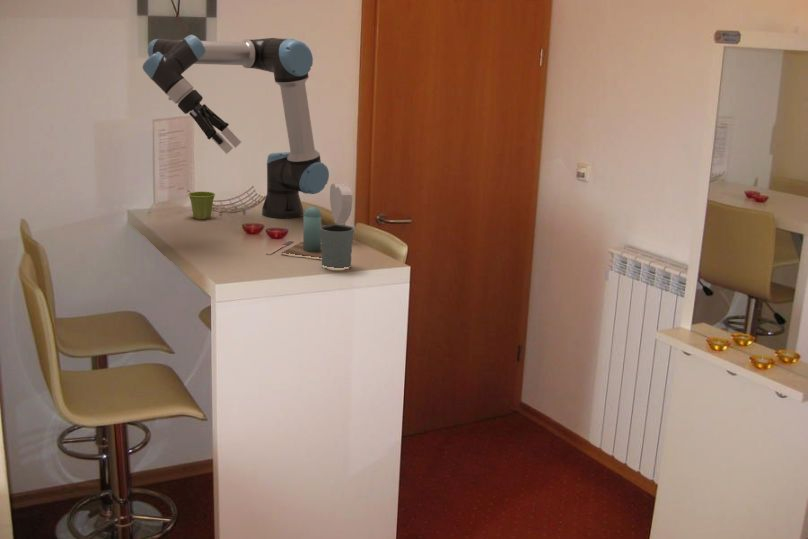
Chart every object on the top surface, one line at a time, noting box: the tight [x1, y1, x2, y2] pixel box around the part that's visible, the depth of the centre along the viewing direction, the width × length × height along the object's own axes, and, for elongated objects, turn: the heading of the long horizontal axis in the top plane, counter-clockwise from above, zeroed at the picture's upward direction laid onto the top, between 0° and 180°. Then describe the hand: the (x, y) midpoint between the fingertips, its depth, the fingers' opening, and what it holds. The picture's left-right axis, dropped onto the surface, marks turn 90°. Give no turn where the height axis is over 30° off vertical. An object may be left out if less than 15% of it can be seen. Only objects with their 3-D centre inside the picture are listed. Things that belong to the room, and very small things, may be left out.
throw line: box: [282, 240, 294, 246], centre depth 296 cm, size 18×2×1 cm, turn 163°
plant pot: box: [187, 191, 216, 220], centre depth 332 cm, size 9×9×9 cm
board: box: [281, 241, 322, 258], centre depth 293 cm, size 16×14×1 cm
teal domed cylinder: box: [302, 206, 322, 252], centre depth 291 cm, size 6×6×14 cm
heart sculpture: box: [329, 183, 353, 225], centre depth 311 cm, size 16×5×18 cm, turn 19°
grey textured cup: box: [320, 224, 355, 268], centre depth 276 cm, size 10×10×12 cm
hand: (234, 147), depth 290 cm, fingers open, 13 cm apart
